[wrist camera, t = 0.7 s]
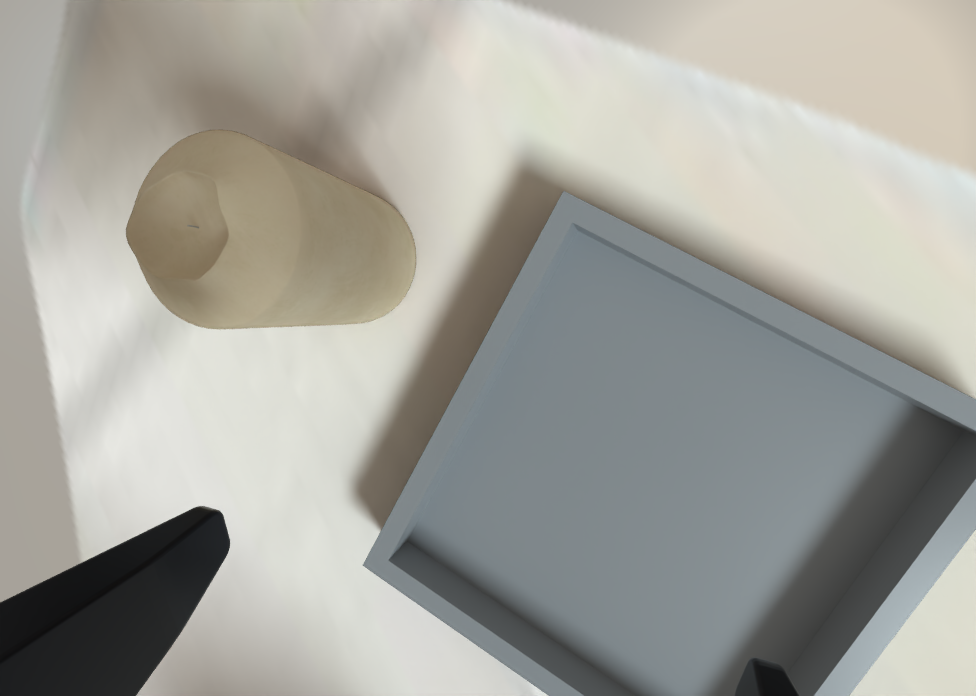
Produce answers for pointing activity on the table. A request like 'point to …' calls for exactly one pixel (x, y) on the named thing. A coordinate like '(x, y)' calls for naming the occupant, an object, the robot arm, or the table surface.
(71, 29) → the table surface
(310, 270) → the candle
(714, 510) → the tray
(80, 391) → the table surface
